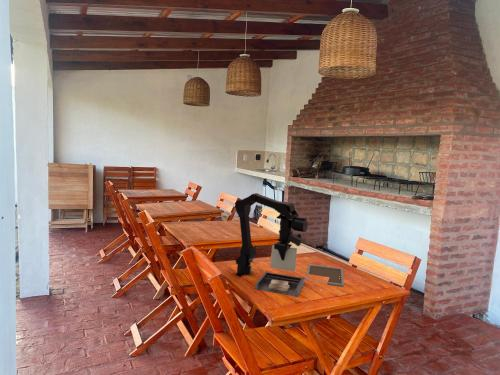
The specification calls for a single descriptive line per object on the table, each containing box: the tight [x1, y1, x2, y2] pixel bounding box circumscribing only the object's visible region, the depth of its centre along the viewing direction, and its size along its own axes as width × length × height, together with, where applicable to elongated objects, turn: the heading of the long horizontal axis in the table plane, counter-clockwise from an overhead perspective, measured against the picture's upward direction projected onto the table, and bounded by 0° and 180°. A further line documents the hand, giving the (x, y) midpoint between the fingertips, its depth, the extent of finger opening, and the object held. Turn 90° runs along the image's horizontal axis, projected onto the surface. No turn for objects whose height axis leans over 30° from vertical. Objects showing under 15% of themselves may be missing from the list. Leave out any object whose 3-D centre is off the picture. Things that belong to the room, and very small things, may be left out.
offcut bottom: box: [269, 283, 290, 292], centre depth 187 cm, size 9×5×2 cm, turn 73°
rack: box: [254, 270, 306, 298], centre depth 190 cm, size 20×19×4 cm
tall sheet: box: [269, 244, 298, 272], centre depth 193 cm, size 12×2×11 cm, turn 73°
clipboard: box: [305, 264, 345, 288], centre depth 214 cm, size 19×2×30 cm
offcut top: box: [270, 280, 288, 288], centre depth 187 cm, size 8×4×2 cm, turn 79°
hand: (283, 259), depth 193 cm, fingers closed on tall sheet, 2 cm apart
